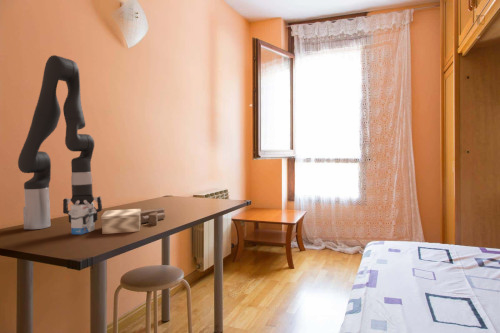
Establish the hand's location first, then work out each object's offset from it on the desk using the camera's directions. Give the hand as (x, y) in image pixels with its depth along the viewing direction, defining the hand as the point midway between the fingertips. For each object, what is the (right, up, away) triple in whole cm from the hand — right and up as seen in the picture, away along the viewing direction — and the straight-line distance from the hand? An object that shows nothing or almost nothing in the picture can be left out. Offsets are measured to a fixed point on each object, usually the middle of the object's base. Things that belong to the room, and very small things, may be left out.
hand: (83, 222), depth 140 cm
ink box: (0, -4, 0) cm, 4 cm away
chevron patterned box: (+14, -3, +5) cm, 15 cm away
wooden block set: (+25, -3, +23) cm, 33 cm away
